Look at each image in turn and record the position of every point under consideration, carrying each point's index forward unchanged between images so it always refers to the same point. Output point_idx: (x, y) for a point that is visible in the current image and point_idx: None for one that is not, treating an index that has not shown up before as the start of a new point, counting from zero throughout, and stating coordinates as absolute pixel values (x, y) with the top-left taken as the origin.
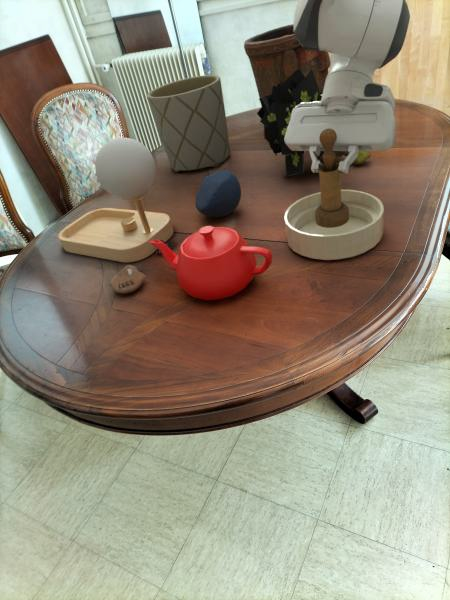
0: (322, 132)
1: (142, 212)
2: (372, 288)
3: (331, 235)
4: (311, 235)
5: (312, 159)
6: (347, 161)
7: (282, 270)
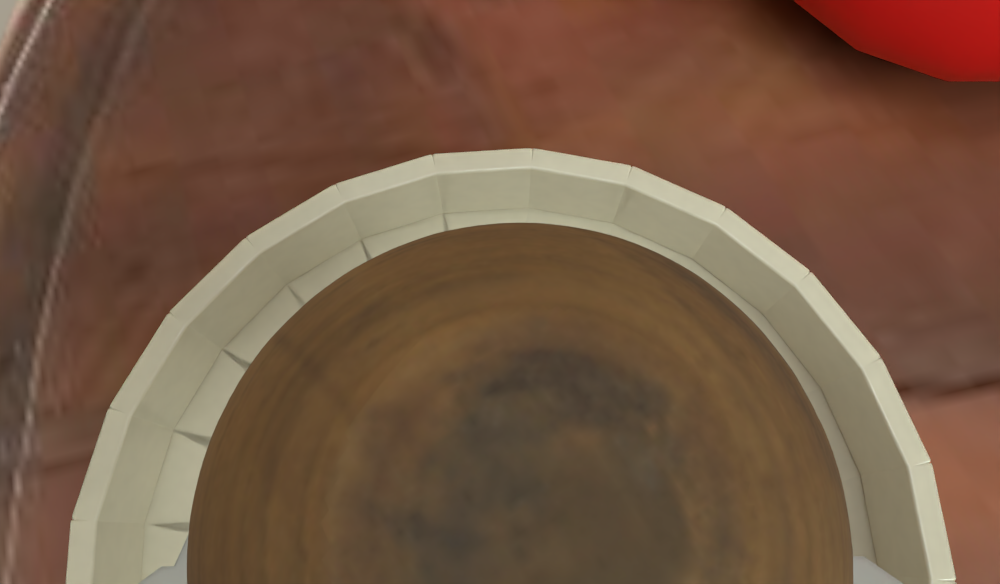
0: (703, 337)
1: None
2: (138, 101)
3: (378, 179)
4: (521, 149)
5: (865, 562)
6: (178, 570)
7: (659, 115)
